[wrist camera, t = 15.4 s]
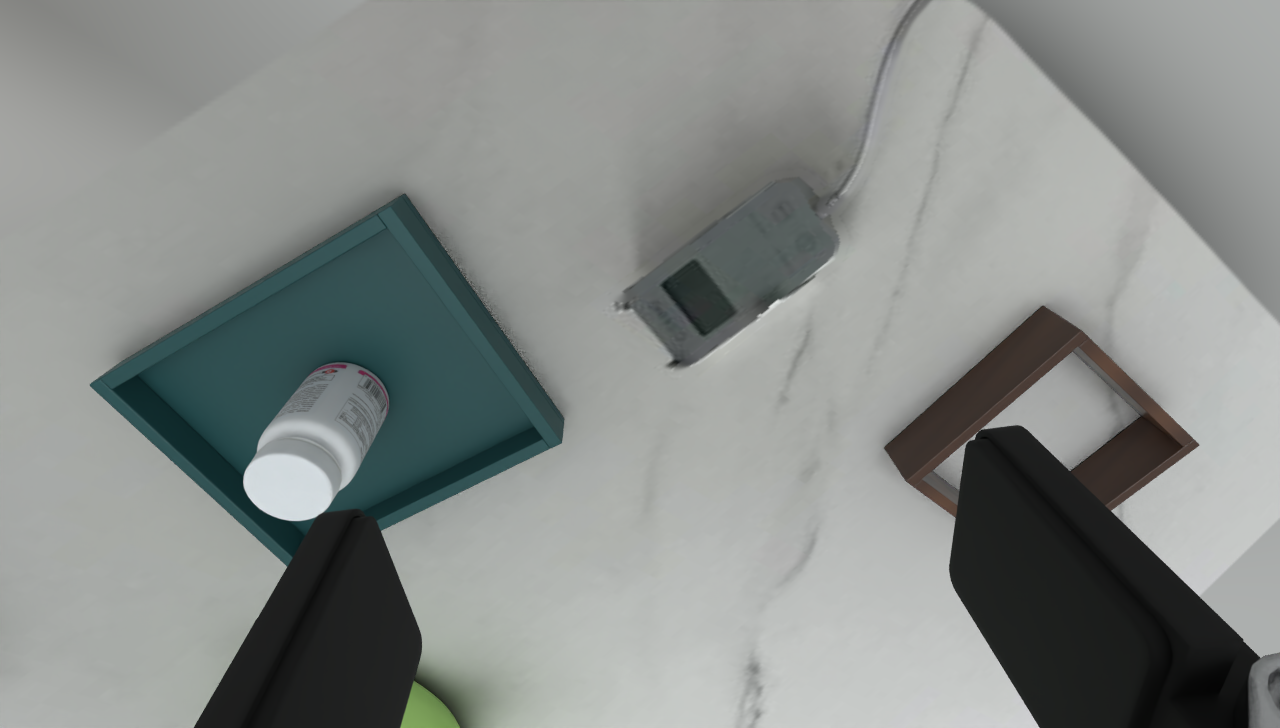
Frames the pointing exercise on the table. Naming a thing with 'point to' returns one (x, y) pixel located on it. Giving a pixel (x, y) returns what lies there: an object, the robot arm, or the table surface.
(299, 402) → the pill bottle
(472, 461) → the tray
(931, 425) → the square wooden frame
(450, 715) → the teapot
